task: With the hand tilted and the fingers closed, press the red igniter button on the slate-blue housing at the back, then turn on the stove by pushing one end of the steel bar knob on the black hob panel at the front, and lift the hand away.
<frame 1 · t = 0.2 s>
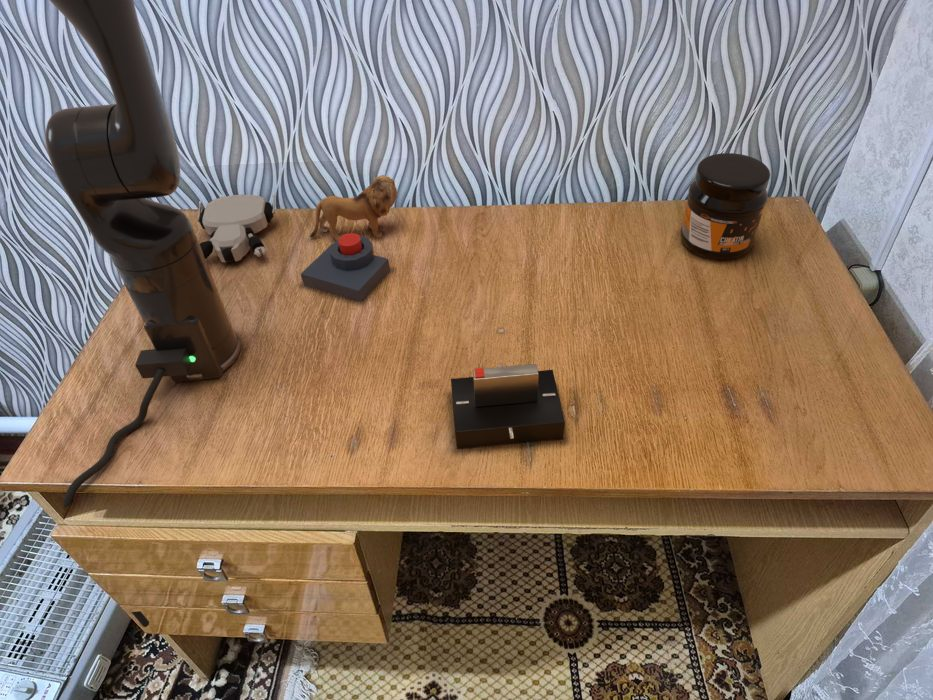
hand: (203, 6, 99), 29 cm above the table, tool pointing down, fingers open, 8 cm apart
robot toy: (239, 242, 105), on the table
supplement container: (715, 243, 99), on the table
lion figurine: (359, 232, 106), on the table
igniter button: (350, 244, 95), point 5 cm above the table, slide at 0.2 cm
igniter: (347, 278, 97), on the table
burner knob: (505, 384, 73), point 5 cm above the table, hinge at 0.0°
hob panel: (506, 416, 77), on the table
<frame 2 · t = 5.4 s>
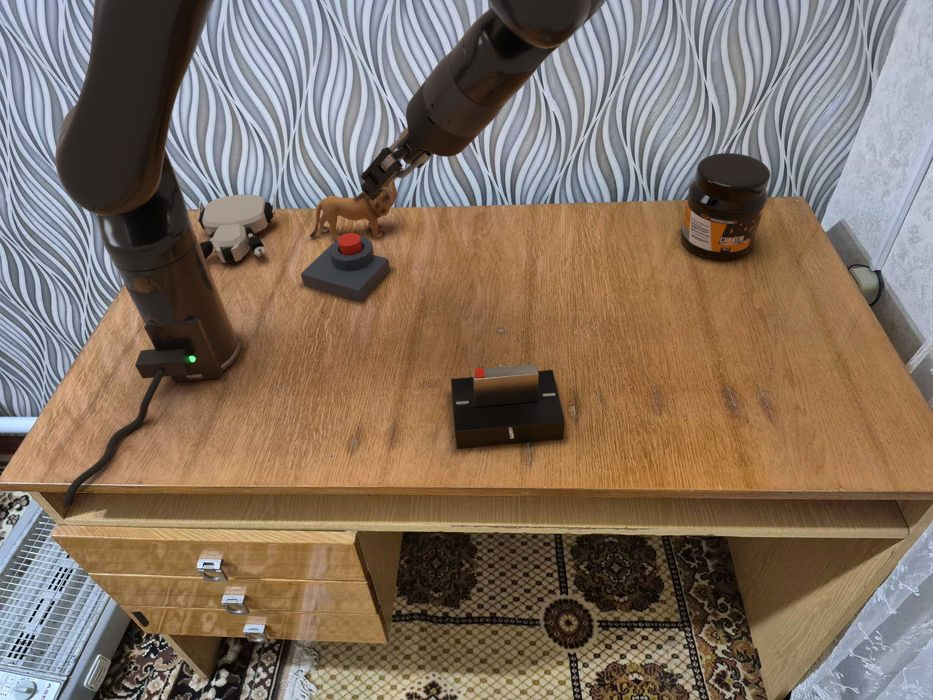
hand: (391, 177, 80), 19 cm above the table, tool tilted 45°, fingers open, 8 cm apart
nothing on the table moved.
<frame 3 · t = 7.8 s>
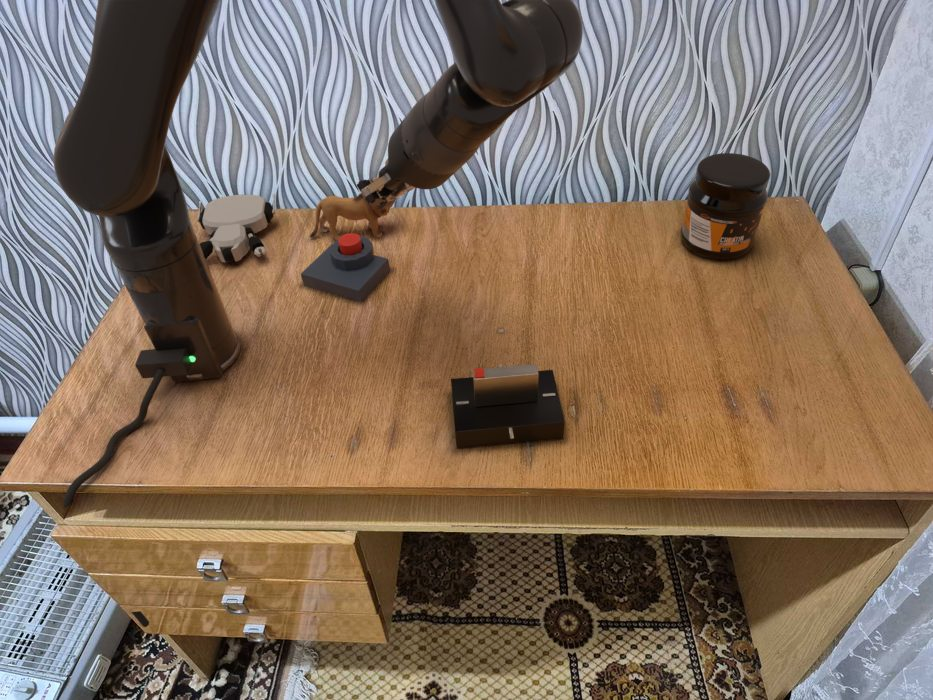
hand: (379, 200, 83), 15 cm above the table, tool tilted 45°, fingers closed
nothing on the table moved.
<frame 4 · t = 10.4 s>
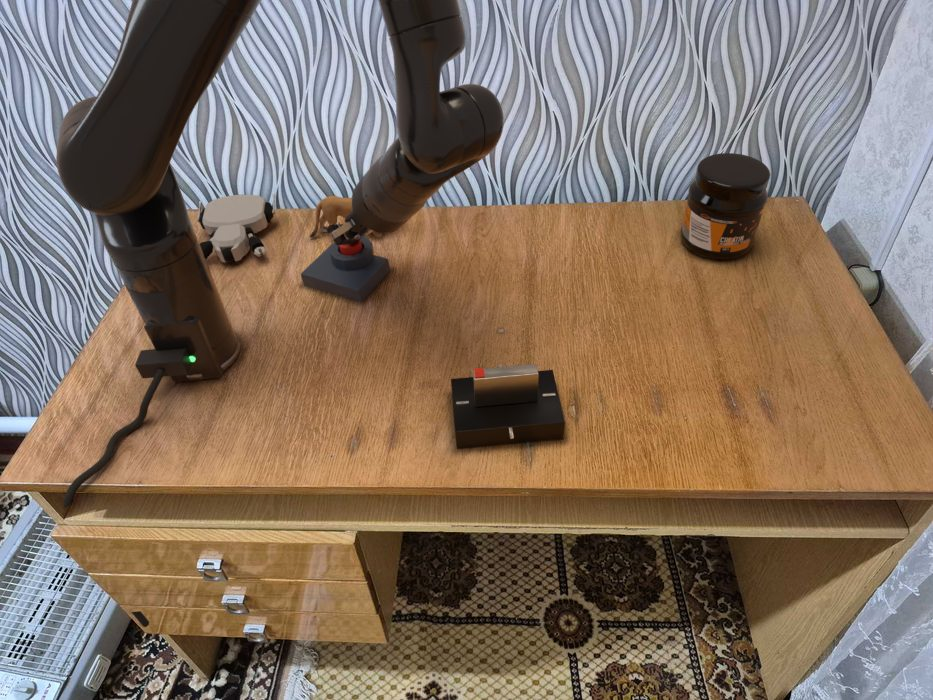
hand: (349, 237, 95), 6 cm above the table, tool tilted 45°, fingers closed
igniter button: (350, 246, 95), point 4 cm above the table, slide at -0.2 cm, touching gripper
everything else where it was.
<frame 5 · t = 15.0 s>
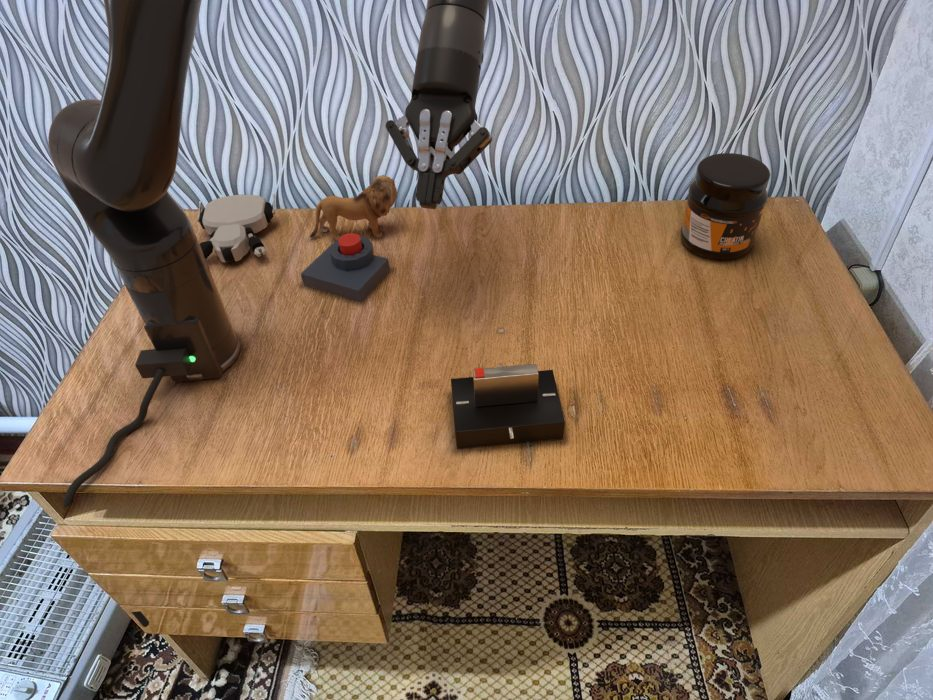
hand: (427, 207, 77), 18 cm above the table, tool tilted 45°, fingers closed
igniter button: (350, 244, 95), point 5 cm above the table, slide at 0.1 cm
everything else where it was.
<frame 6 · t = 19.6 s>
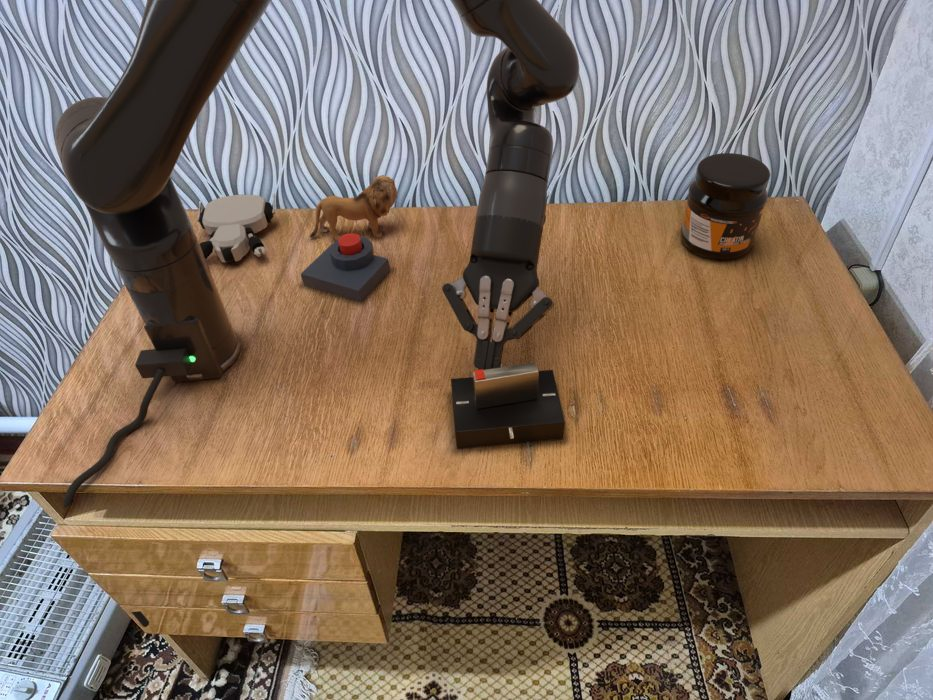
hand: (485, 374, 73), 6 cm above the table, tool tilted 45°, fingers closed
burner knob: (505, 384, 73), point 5 cm above the table, hinge at 5.6°, touching gripper
everything else where it was.
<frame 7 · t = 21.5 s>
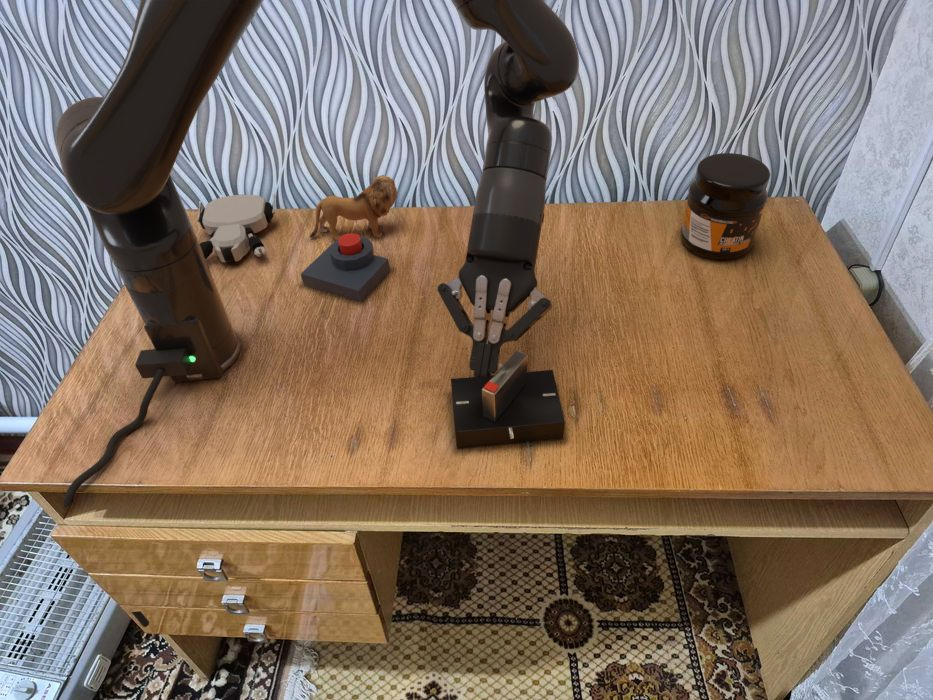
hand: (482, 377, 71), 7 cm above the table, tool tilted 45°, fingers closed
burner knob: (505, 384, 73), point 5 cm above the table, hinge at 51.7°
everything else where it was.
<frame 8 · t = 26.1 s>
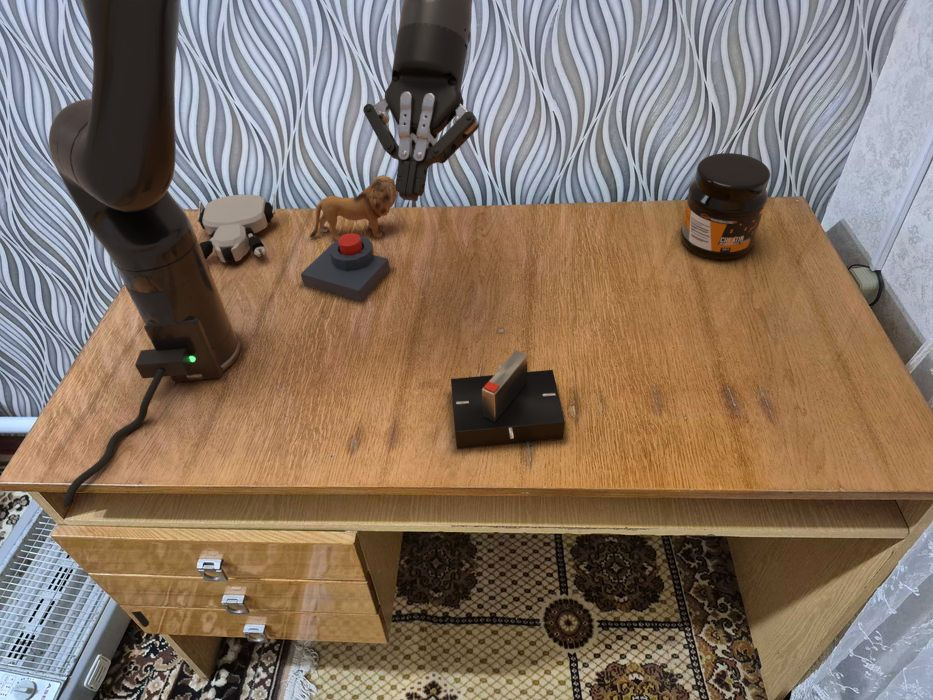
hand: (408, 198, 71), 22 cm above the table, tool tilted 45°, fingers closed
nothing on the table moved.
at the end: igniter button pushed in 1.3 cm at the most during the clip, back to where it started at the end; igniter button slide at 0.1 cm; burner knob at +52° (first picture: +0°) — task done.
